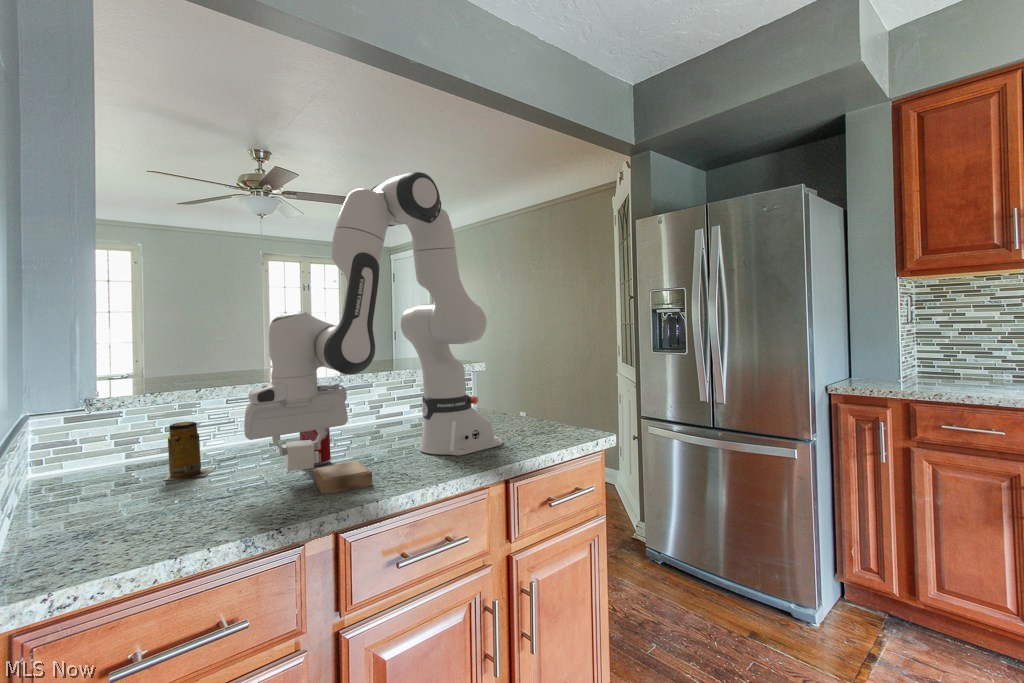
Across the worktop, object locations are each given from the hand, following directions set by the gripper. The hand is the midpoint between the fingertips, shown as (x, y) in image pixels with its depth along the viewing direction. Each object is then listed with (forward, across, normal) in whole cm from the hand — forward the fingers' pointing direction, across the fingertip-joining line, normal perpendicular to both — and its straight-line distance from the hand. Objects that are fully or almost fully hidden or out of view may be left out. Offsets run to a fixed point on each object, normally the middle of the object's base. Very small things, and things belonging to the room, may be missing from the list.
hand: (300, 452), depth 103 cm
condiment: (+7, +21, -22) cm, 31 cm away
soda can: (+7, -5, -13) cm, 16 cm away
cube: (+3, 0, 0) cm, 3 cm away
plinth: (+7, -7, +6) cm, 11 cm away
